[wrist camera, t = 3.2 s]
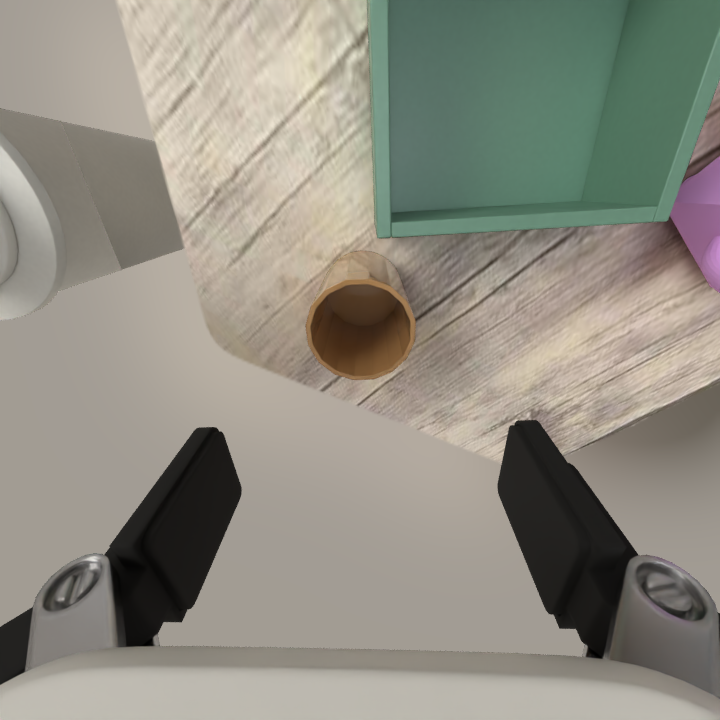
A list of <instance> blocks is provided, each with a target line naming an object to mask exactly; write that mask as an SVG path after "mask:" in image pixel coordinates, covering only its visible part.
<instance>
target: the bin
mask: <svg viewBox="0 0 720 720" xmlns="http://www.w3.org/2000/svg"><path fill="white" fill-rule="evenodd" d="M367 14H368V43H369V72H370V101H371V130H372V159H373V188H374V218H375V228H376V234H377V238H390V237H392V238H396V237H413V236H430V235H447V234H464V233H481V232H498V231H515V230H532V229H549V228H565V227H582V226H599V225H616V224H633V223H650V222H666V221H668V219H669V216H670V213H671V211H672V208H673V205H674V203H675V200H676V197H677V194H678V192H679V189H680V186H681V183H682V181H683V178H684V175H685V172H686V170H687V167H688V164H689V162H690V159H691V156H692V153H693V151H694V148H695V145H696V142H697V140H698V137H699V134H700V131H701V129H702V126H703V123H704V121H705V118H706V115H707V112H708V110H709V107H710V104H711V101H712V99H713V96H714V93H715V90H716V88H717V85H718V82H719V80H720V0H367Z"/></svg>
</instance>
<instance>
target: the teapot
mask: <svg viewBox="0 0 720 720" xmlns="http://www.w3.org/2000/svg"><path fill="white" fill-rule="evenodd" d="M670 217H671V219H672V220H673V222H674V224H675V226H676V227H677V229H678V231H679V233H680V234H681V236H682V238H683V240H684V241H685V243H686V245H687V247H688V249H689V250H690V252H691V254H692V256H693V257H694V259H695V261H696V263H697V264H698V266H699V268H700V270H701V272H702V273H703V275H704V277H705V279H706V280H707V282H708V284H709V286H710V287H712V288H714V289H715V290H716V291H718V292H719V293H720V156H719V157H718V158H716V159H715V160H714V161H713V162H711V163H710V164H709V165H708V166H706V167H705V168H704V169H703V170H701V171H700V172H699V173H697V174H696V175H693V176H691V177H689V178H687V179H686V180H685V181H684V182H683V183H682V184H681V186H680V189H679V192H678V194H677V197H676V200H675V203H674V205H673V208H672V211H671V213H670Z"/></svg>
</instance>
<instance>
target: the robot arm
mask: <svg viewBox="0 0 720 720" xmlns="http://www.w3.org/2000/svg"><path fill="white" fill-rule="evenodd" d="M17 254H18V247H17V239H16V234H15V231H14V228H13V225H12V221H11V219H10V217H9V215H8V213H7V211H6V209H5V207H4V205H3V203H2V201H1V200H0V285H1V284H2V283H4V282H5V281H6V280H7V279H8V278H9V277H10V275H11V274H12V273H13V271H14V268H15V265H16V263H17ZM498 493H499V496H500V499H501V501H502V504H503V506H504V509H505V511H506V514H507V516H508V519H509V521H510V524H511V526H512V528H513V531H514V533H515V536H516V538H517V541H518V543H519V546H520V548H521V551H522V553H523V555H524V558H525V560H526V563H527V565H528V568H529V570H530V573H531V575H532V578H533V580H534V583H535V585H536V588H537V590H538V592H539V595H540V597H541V600H542V602H543V605H544V607H545V609H546V611H547V612H548V613H549V614H554V616H555V619H556V621H557V624H558V626H559V628H562V629H576V630H577V632H578V634H579V636H580V639H581V641H582V642H583V643H584V644H585V646H584V650H583V654H582V657H577V656H561V655H540V654H519V653H493V652H491V653H490V652H453V651H418V650H374V649H373V650H372V649H327V648H326V649H325V648H277V647H276V648H275V647H213V646H211V647H209V646H160V644H159V638H158V632H159V630H160V628H161V626H162V624H163V622H182V621H183V618H184V616H185V614H186V612H187V609H191V608H192V607H193V605H194V604H195V602H196V600H197V597H198V595H199V593H200V590H201V588H202V586H203V583H204V581H205V579H206V576H207V574H208V572H209V569H210V567H211V565H212V563H213V560H214V558H215V556H216V553H217V551H218V549H219V546H220V544H221V542H222V539H223V537H224V534H225V532H226V530H227V527H228V525H229V523H230V521H231V518H232V516H233V513H234V511H235V509H236V507H237V504H238V502H239V500H240V497H241V484H240V482H239V479H238V476H237V473H236V470H235V467H234V464H233V461H232V458H231V455H230V452H229V449H228V446H227V443H226V440H225V437H224V434H223V433H222V432H219V430H218V429H217V428H215V427H206V428H197V429H196V430H195V431H194V432H193V433H192V435H191V436H190V437H189V439H188V440H187V441H186V443H185V444H184V446H183V447H182V448H181V450H180V451H179V452H178V454H177V455H176V457H175V458H174V459H173V460H172V462H171V463H170V465H169V466H168V467H167V469H166V470H165V471H164V473H163V474H162V476H161V477H160V478H159V479H158V481H157V482H156V484H155V485H154V486H153V488H152V489H151V490H150V492H149V493H148V494H147V496H146V497H145V498H144V500H143V501H142V503H141V504H140V505H139V507H138V508H137V509H136V511H135V512H134V513H133V515H132V516H131V517H130V519H129V520H128V522H127V523H126V524H125V526H124V527H123V528H122V530H121V531H120V532H119V534H118V535H117V536H116V538H115V539H114V541H113V542H112V543H111V545H110V548H109V549H108V551H107V552H106V553H105V555H103V554H97V553H93V554H89V555H85V556H82V557H80V558H77V559H75V560H73V561H71V562H70V563H68V564H67V565H65V566H63V567H62V568H61V569H60V570H59V571H57V572H56V573H55V574H54V575H53V576H51V578H50V579H49V580H48V581H47V582H46V583H45V584H44V586H43V587H42V588H41V590H40V591H39V593H38V594H37V596H36V599H35V602H34V605H33V607H32V608H31V609H29V610H27V611H26V612H24V613H22V614H21V615H19V616H17V617H16V618H14V619H13V620H11V621H9V622H7V623H6V624H4V625H3V626H1V627H0V720H720V613H718V612H717V608H716V605H715V603H714V601H713V600H712V598H711V596H710V595H709V593H708V592H707V590H706V589H705V588H704V587H703V586H702V585H701V584H700V583H699V582H698V581H697V580H696V579H695V578H694V577H692V576H691V575H690V574H689V573H688V572H686V571H685V570H683V569H682V568H680V567H678V566H677V565H675V564H673V563H672V562H669V561H667V560H664V559H662V558H659V557H655V556H650V555H641V556H640V555H638V554H637V552H636V551H635V550H634V548H633V547H632V545H631V544H630V543H629V541H628V540H627V538H626V537H625V536H624V534H623V533H622V531H621V530H620V529H619V527H618V526H617V524H616V523H615V522H614V520H613V519H612V517H611V516H610V515H609V513H608V512H607V511H606V509H605V508H604V506H603V505H602V504H601V502H600V501H599V499H598V498H597V497H596V495H595V494H594V493H593V491H592V490H591V488H590V487H589V486H588V484H587V483H586V481H585V480H584V479H583V477H582V476H581V474H580V473H579V472H578V470H577V469H576V468H575V467H574V466H573V465H571V464H570V463H567V461H566V460H565V458H564V457H563V456H562V454H561V453H560V451H559V450H558V448H557V447H556V446H555V444H554V443H553V441H552V440H551V438H550V437H549V436H548V434H547V433H546V431H545V430H544V429H543V427H542V426H541V424H540V423H539V422H538V421H536V420H524V421H516V422H515V425H512V426H510V427H509V431H508V436H507V441H506V446H505V451H504V456H503V461H502V465H501V470H500V476H499V480H498Z"/></svg>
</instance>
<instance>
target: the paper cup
mask: <svg viewBox="0 0 720 720" xmlns="http://www.w3.org/2000/svg"><path fill="white" fill-rule="evenodd" d="M305 327H306V334H307V340H308V345H309V347H310V349H311V351H312V352H313V354H314V356H315V357H316V359H317V360H318V362H319V363H320V364H322V365H323V366H324V367H326V368H327V369H328V370H330V371H331V372H332V373H334V374H335V375H339V376H342V377H345V378H349V379H352V380H368V379H376V378H378V377H381V376H383V375H386V374H388V373H391V372H393V371H394V370H395V369H396V368H397V367H398V366H399V365H400V364H401V363H402V362H404V361H405V360H406V359H407V357H408V355H409V353H410V351H411V349H412V346H413V344H414V342H415V328H416V321H415V318H414V315H413V312H412V309H411V306H410V303H409V300H408V298H407V295H406V292H405V289H404V286H403V283H402V281H401V278H400V276H399V274H398V271H397V269H396V268H395V267H394V265H393V264H392V263H391V262H390V261H389V260H388V259H386V258H385V257H383V256H382V255H379V254H377V253H374V252H370V251H355V252H352V253H349V254H346V255H344V256H343V257H341V258H340V259H338V260H337V261H336V262H335V263H334V264H333V265H332V267H331V268H330V269H329V271H328V272H327V274H326V276H325V278H324V280H323V282H322V284H321V286H320V289H319V291H318V293H317V295H316V297H315V299H314V301H313V303H312V305H311V308H310V311H309V315H308V318H307V322H306V326H305Z"/></svg>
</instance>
